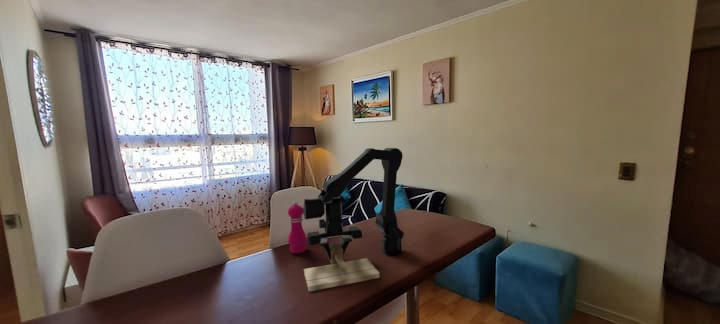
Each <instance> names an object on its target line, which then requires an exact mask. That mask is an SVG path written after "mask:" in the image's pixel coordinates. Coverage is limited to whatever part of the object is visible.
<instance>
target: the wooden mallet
mask: <svg viewBox="0 0 720 324" xmlns="http://www.w3.org/2000/svg"><path fill="white" fill-rule="evenodd" d="M329 248H330V256H331V260H329V259H328V261H329V263H330V264H336V263H338V264H339V266H340V268H341V270H342V271H344V272H345V271H346V270H347V266H346V264H345V262H346V261H345V260H344V256H343V248H342V247H341V243H339V242H336V243H329Z"/></svg>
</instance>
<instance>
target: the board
mask: <svg viewBox="0 0 720 324" xmlns="http://www.w3.org/2000/svg"><path fill="white" fill-rule="evenodd" d="M344 262H345V264H346V266H347V270H346V271H345V272H344V271H342V270H341V268H340V266H339V264H338V263H336V264H331V263H330V264H326V265H320V266H315V267H309V268H303V275H304V278H305V281H306V286H307V289H308V290H307V291H308V292H309V293H310V292H314V291H320V290H325V289H329V288H334V287H339V286H345V285H349V284H354V283H360V282H365V281H369V280H374V279H375V280H376V279H379V278H380V276H381V275H380V272H379V271H378V269H377V268H376V267H375V265H373V263H372V262H371V261H370V259H368V258H367V257H365V258H360V259H354V260H349V261H344Z"/></svg>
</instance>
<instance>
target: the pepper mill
mask: <svg viewBox="0 0 720 324" xmlns="http://www.w3.org/2000/svg"><path fill="white" fill-rule="evenodd" d="M287 215H288V216H289V222H290V223H291V225H290V227H291V228H290V232H289V235H288V238H287V243H288V245H290V247H289V253H291V254H301V253H304V252H306V250H307V246H306V243H307V242H308V240H307V235H306V232H305V230H304V228H303V223H302V222H303V218H304V214H303V206H301V205H299V204H298V201H297V200H296V201H293V202H292V205H291V206H289V208H288V210H287Z"/></svg>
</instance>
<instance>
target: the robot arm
mask: <svg viewBox="0 0 720 324" xmlns="http://www.w3.org/2000/svg"><path fill="white" fill-rule="evenodd" d="M403 158H404V157H403V152H402V151H401V149H399V148H398V147H386V148H384V149H375V148H373V147H372V148H371V147H369V148H366V149H364V151H363V152H362V153H360V154H359V156H357V158H355V159H354V160H353V161H352V162H351V163H349V165H348V166H347V167H345V168H344V169H343V170H342V171H341V172H339V173H337V174H335V175H333V176H332V177H330V178H328V179H326V180H325V181H324V183H323V186H322V190H321V192H320V193H319V194H318V195H317V198H303V206H302V208H303V218H304V220H312V219H313V220H314V219H319V218H323V216H324V215H325V218H323V219H319V220H318V227H319V229H323V230H324V232H325V233H320V232H319V231H318V230H317V231H309V232H307V235H306V238H307V243H308V245H309V246H316V245H320V247H323V248H324V250H325V252H326V254H327V258H328V261H329V260H331V256H330V248H329V244H330V243H329V241H328V239H335V238H340V245H341V247H342V248H343V257H344V256H345V252H346V249H347V248H348V246H349V244H350V243H352V242H353V239H354V240H356V239H362V238H363V231H362V230H361V229H360V228H359V227H358V226H357V225H355V226H349V227H346V228H347V230H343V223H344V221H343V205H342V204H343V203H344V204H345V203H348V200H347V199H346V198H345V197H344V196H343V193H344V191H346V189H347V187H348V186H349V183H350V182H351V181H352V180H353V179H354V178H355V177H356V176H357V175H358V174H360V172H361V171H362V170H363V169H365V168H366V167H367V166H368V165H369V164H370V163H372V161H373V160H379V161H381V166H382V168H383V185H382V201H381V209H380V212H376V213H375V220H374V221H375V222H374V224H376V227H377V229H378V230H379V231H380V232H381V234H383V235H382V240H381V251H382V252H383V253H384V254H386V256H395V255H400V254H404V253H405V252H404V250H402V239H403V238H404V235H405V232H404V231H403V230H401V229H400V228H399V227H398V218H397V214H396V212H395V203H396V188H397V178H398V177H397V175H398V171H399V169H400V167H401V165H402V161H403ZM352 238H353V239H352Z"/></svg>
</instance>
